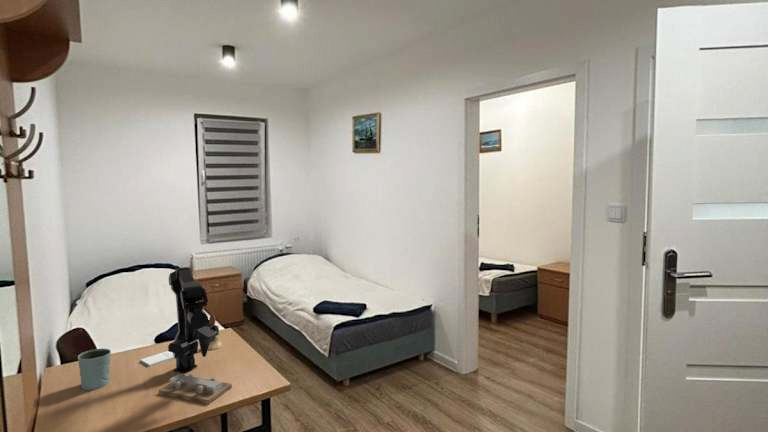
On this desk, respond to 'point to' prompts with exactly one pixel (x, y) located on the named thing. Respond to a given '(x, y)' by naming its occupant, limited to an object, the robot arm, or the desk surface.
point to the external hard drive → (157, 358)
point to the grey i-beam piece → (196, 383)
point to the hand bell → (216, 343)
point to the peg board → (194, 392)
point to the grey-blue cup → (94, 368)
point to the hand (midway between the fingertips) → (195, 361)
